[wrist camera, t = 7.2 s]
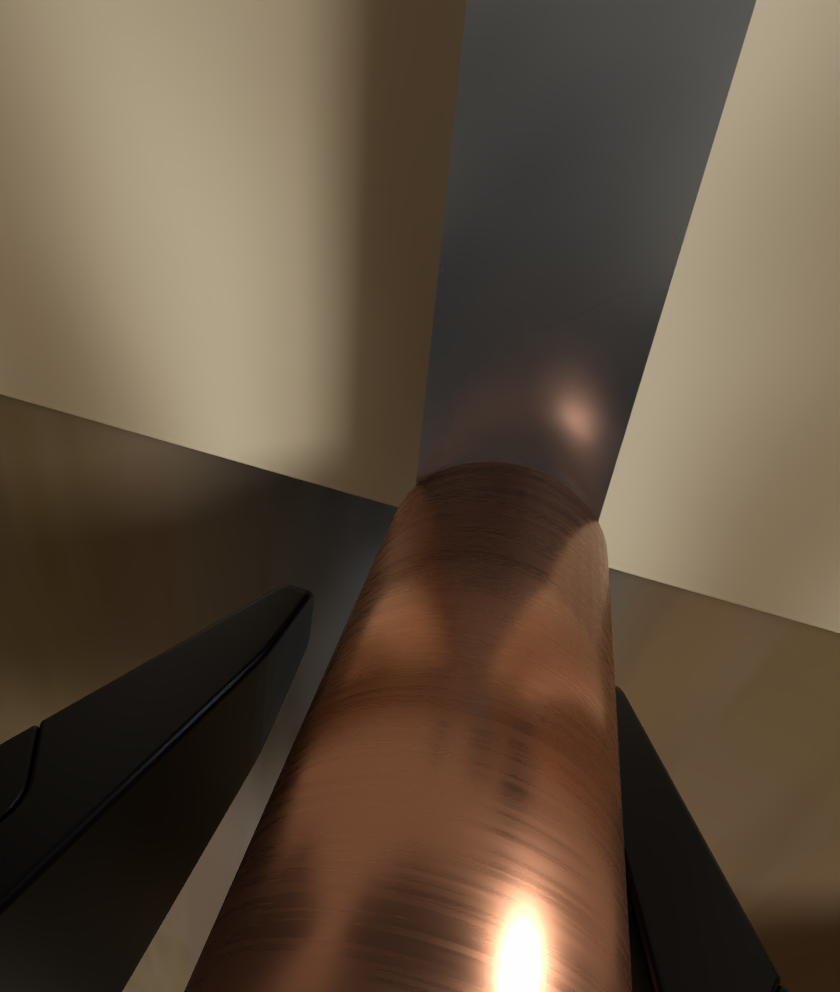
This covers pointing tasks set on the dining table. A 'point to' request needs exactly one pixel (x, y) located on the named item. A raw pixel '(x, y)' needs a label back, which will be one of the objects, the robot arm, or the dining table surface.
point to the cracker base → (406, 266)
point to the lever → (498, 543)
